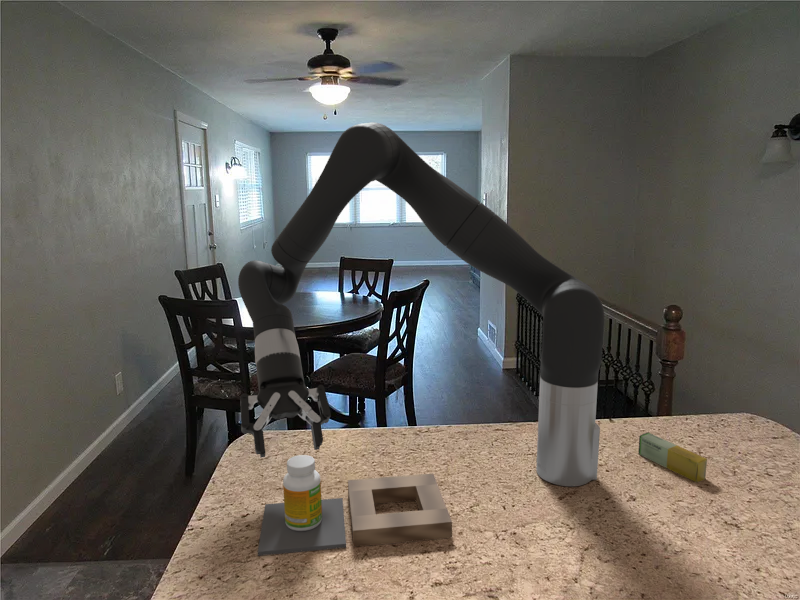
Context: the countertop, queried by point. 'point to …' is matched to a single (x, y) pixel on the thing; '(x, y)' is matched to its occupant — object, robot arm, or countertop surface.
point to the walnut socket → (401, 525)
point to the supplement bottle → (302, 494)
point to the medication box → (673, 457)
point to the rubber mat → (288, 541)
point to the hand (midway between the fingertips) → (290, 451)
